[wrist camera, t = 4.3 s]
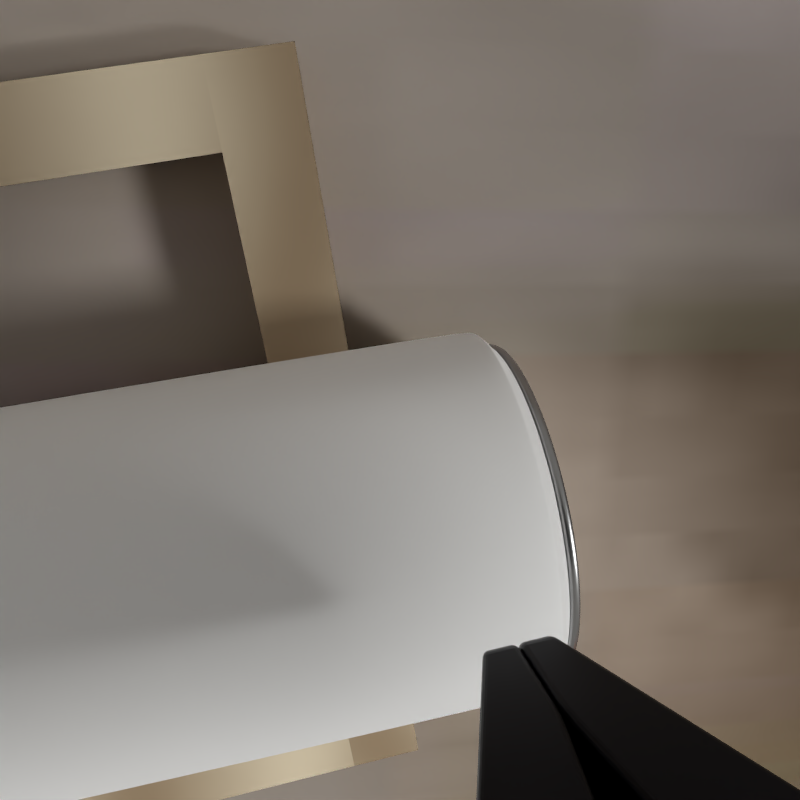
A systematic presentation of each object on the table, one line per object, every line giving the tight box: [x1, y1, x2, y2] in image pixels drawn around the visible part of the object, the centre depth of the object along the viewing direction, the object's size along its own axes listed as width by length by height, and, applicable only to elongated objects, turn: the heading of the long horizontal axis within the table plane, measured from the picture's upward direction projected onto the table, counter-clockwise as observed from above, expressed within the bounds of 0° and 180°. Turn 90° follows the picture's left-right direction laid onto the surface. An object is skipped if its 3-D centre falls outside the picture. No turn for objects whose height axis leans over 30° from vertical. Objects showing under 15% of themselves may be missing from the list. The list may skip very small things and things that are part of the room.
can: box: [0, 333, 580, 800], centre depth 13 cm, size 6×6×12 cm
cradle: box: [0, 41, 418, 800], centre depth 15 cm, size 10×15×2 cm, turn 8°
